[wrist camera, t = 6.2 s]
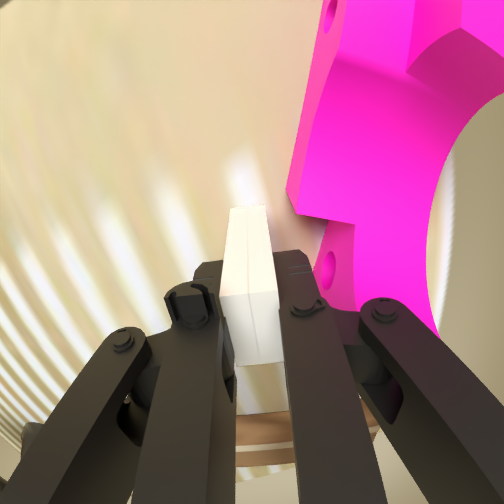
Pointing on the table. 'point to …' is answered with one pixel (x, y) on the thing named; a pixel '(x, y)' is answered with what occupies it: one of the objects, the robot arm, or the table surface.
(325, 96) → the toy block
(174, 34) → the table surface
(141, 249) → the table surface
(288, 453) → the walnut plank
